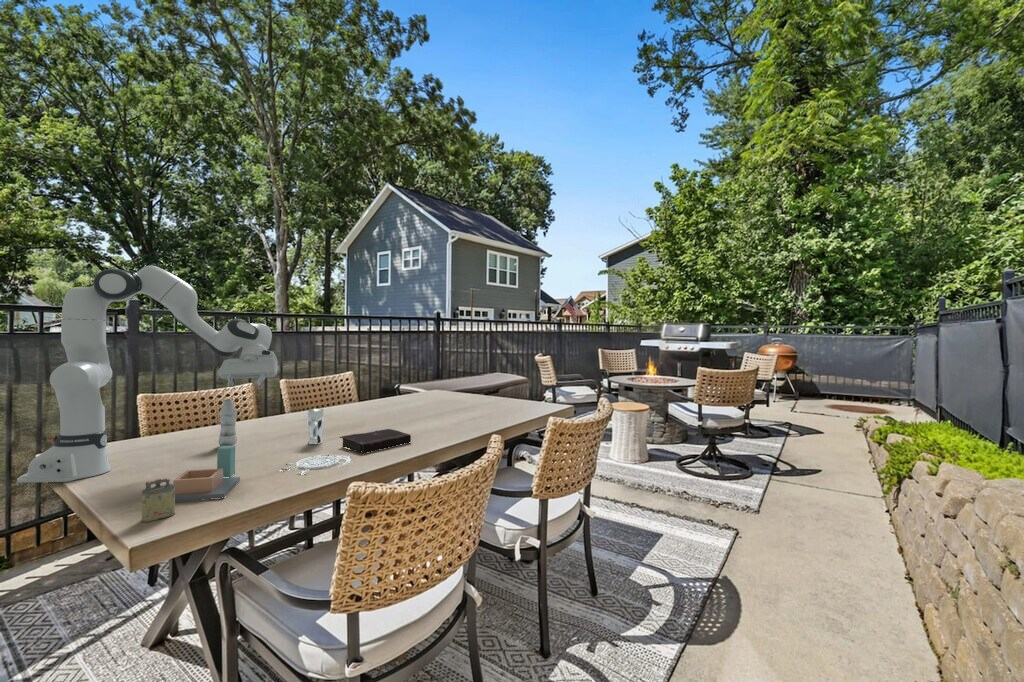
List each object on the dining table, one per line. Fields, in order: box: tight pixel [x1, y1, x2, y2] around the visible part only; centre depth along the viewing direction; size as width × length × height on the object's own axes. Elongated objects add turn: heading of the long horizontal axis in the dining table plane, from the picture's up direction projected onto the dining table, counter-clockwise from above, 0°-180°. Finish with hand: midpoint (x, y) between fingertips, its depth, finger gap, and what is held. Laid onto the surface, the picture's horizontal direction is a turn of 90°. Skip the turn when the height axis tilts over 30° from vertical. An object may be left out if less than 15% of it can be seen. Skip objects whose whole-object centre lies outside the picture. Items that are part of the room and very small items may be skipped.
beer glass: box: [306, 408, 325, 445], centre depth 199 cm, size 7×7×15 cm
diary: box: [339, 428, 412, 455], centre depth 198 cm, size 19×25×5 cm
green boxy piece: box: [140, 478, 176, 523], centre depth 118 cm, size 7×4×10 cm, turn 140°
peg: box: [216, 445, 236, 477], centre depth 152 cm, size 4×4×10 cm
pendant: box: [278, 454, 352, 476], centre depth 169 cm, size 21×28×1 cm
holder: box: [172, 468, 241, 503], centre depth 137 cm, size 18×16×6 cm
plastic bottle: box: [218, 399, 238, 447], centre depth 191 cm, size 6×7×20 cm
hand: (243, 385), depth 168 cm, fingers open, 8 cm apart
